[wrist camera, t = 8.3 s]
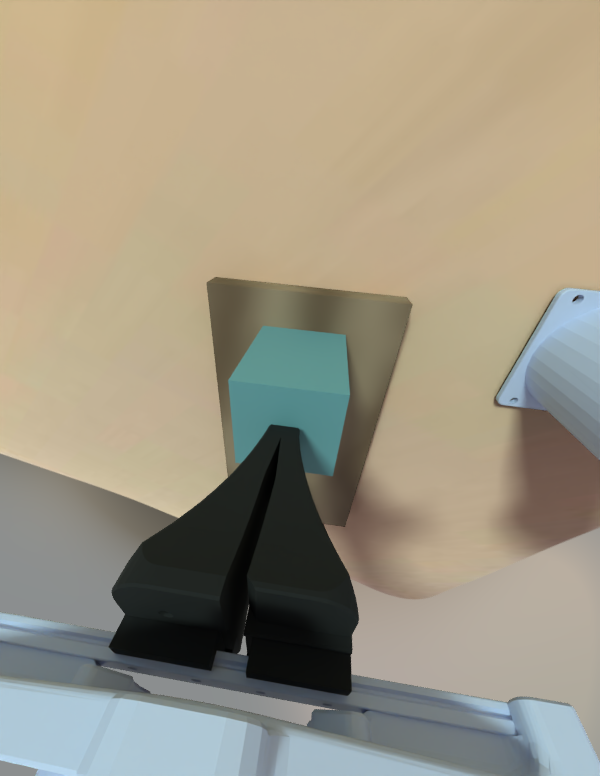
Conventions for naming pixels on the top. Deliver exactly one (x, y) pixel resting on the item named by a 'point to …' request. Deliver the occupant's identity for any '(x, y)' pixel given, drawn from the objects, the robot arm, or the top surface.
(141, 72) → the top surface
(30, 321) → the top surface
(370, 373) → the brown wooden board
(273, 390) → the teal block
